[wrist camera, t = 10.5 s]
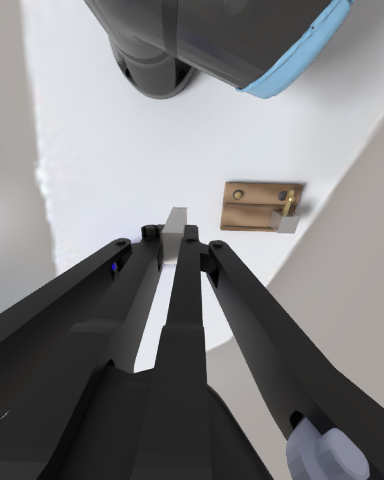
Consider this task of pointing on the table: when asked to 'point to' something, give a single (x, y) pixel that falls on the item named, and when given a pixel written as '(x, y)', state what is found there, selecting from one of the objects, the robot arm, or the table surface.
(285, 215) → the slider with brass pointer
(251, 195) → the wooden knob panel
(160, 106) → the table surface
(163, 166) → the table surface
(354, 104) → the table surface
